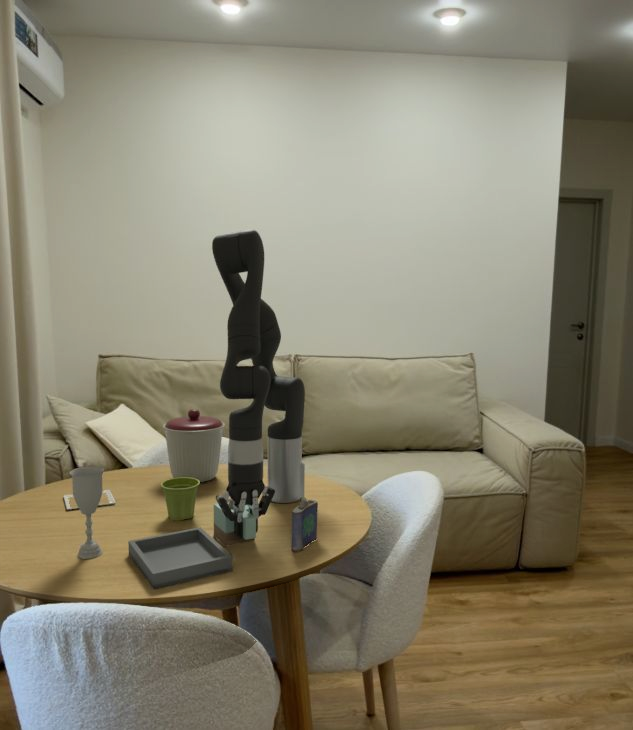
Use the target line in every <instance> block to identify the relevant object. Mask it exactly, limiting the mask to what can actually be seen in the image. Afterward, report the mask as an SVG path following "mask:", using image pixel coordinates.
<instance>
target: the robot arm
mask: <svg viewBox="0 0 633 730" xmlns="http://www.w3.org/2000/svg"><path fill="white" fill-rule="evenodd" d="M262 239H263V238H261V235H260V234H259V232H258V231H257V230H255V229H245V230H240V231H235V232H228V233H223V234H218V235H216V236H215V237H214V238H213V239H212V241H211V242H212V244H211V245H212V246H211V250H212V255H213V259H214V262H215V265H216V267H217V270H218V272H219V275H220V276H221V279H222V281H223V284H224V286H225V288H226V291H227V292H228V295H229V297H230V300H231V303H232V305H233V306H232V307H231V309H230V312H229V314H228V317H227V328H226V329H227V351H226V352H227V353H226V359H225V363H224V367H223V370H222V372H221V373H222V374H221V376H220V381H219V389H220V392H221V393H222V395H223V396H224V397H225V398H226V399H228V400H252V402H251V403H250V405H248V406H247V407H243V408H240V409H235V410H233V411H231V412H230V414H229V416H228V446H227V480H228V481H227V482H228V485H227V487H226V489H225V490H226V491H225V492H223V493H222V494H217V495H216V496H215V501H216V502H217V503H218V504H219V506H220V508H221V509H222V511H223V513H224V515H225V517H226V518H228V519H229V520H230V521H234V533H235V535H236V536H237V537H238V538H239V539H241V538H243V522H242V519H243V512H244V510H245V505H248V509H249V513H251V514H252V515H253V516H255V517H256V534H257V533H258V531H259V518H260V517H261V516H265V515H266V514H267V513H268V510H269V507H270V505H271V502H273V503H277V504H291V503H295V502H298V501H300V500H301V499H303V498H304V497H305V488H306V487H305V484H306V483H305V482H306V481H305V478H306V477H305V476H306V475H305V472H306V471H305V470H306V469H305V467H306V466H305V463H304V462H303V460H302V459H303V457H302V455H303V451H302V450H303V444H302V443H303V439H302V438H303V436H302V435H303V427H304V419H305V417H304V415H305V401H306V400H305V399H306V398H305V397H306V390H305V389H306V388H305V383H304V381H303V380H302V379H301V378H300V377H295V376H283V375H281V376H280V375H278V374H277V373H276V371H275V368H274V358H275V355H277V354H276V353H277V351H278V350H279V347H280V343H281V340H282V339H281V338H282V332H281V329H280V326H279V323H278V322H279V321H278V319H277V316H276V313H275V311H274V310H273V308H272V307H271V306H270V305H269V304H268V303H267V302H266V301H265V300H264V299H262V292H263V291H262V290H263V282H264V270H265V247H264V244H263V240H262ZM240 273H246V280H245V281H244V280H243V278H242V277H241V275H240ZM249 359H251V362H252V365H238V364H239V363H240V362H242V361H246V360H249ZM265 408H266V409H268V410H271V411H280V412H285V413H284V419H282V420H281V421H276V422H274V423H271V424H269V425H268V426H267V486H266V485H265V483H264V480H263V479H264V455H265V454H264V444H263V415H264V410H265ZM229 497H230V498H231V499H232V500H233V509H234V510H233V513H232V511H231V509H230V508H229V506H228V504H227V503H229V499H230V498H229ZM260 497H261V498H260ZM300 497H303V498H301V499H300ZM259 498H260V501H259ZM299 499H300V500H299Z"/></svg>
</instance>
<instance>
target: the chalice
mask: <svg viewBox="0 0 633 730" xmlns="http://www.w3.org/2000/svg"><path fill="white" fill-rule="evenodd" d="M104 472H105V468H104V467H101V466H96V465H95V466H93V465H92V466H91V465H89V466H88V465H87V466H82V467H77V468H74V469H72V470H70V471H69V475H71V480H72V494H73V499H74V501H75V503H76V506H77V507H79V509H78V510H79V511H80V513H81V514H83V515H85V517H86V519H85V523H84V525H85V526H86V530H85V531H84V533H85V534H86V537H87V538H86V540H85V541H84V542H82V543H81V545H80V547H79V550H78V552H77V554H78V555H76V557H77V558H79V559H82V560H83V559H84V560H86V559H88V560H89V559H95V558H97V557H99V556H102V554H103V550H102V549H101V547H100V544H99V542H97V541H95V540H94V539H93V538H92V536H93V532H94V529H92V528H93V527H92V525H93V523H94V522H93V521H92V515H93V514H94V513H96V512H97V509H98V507H99V506H98V505H99V504H100V501H101V498H102V495H103V494H102V492H103V474H104Z"/></svg>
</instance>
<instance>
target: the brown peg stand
mask: <svg viewBox="0 0 633 730" xmlns="http://www.w3.org/2000/svg"><path fill="white" fill-rule="evenodd" d="M228 499H229V508H230V509H231V510H232V509H233V500H232V499H231V497H230V498H228ZM213 537H215V539H217V540H218V541H219V542H220V543H221V544H223V545H224V546H225V547H229V546H233V545H238V544H244V543H248V542H252V541H255V540H256V538H252V539H247V540H245V539H244V538H241V539H239V538H238V537H237V536H236V535H235V533H234V532H229V533H225V532H224V531H223V530H221V529H220V528H219V527H218V526H217V525H216V524H214V523H213Z"/></svg>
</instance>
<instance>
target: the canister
mask: <svg viewBox="0 0 633 730" xmlns="http://www.w3.org/2000/svg"><path fill="white" fill-rule="evenodd" d="M225 425H226V424H225V422H223V421H222V420H220V419H219V418H216V417H215V416H214V417H213V416H206V415H201V413H200V410H199V409H197V408H192V409H189V410H188V412H187V416H179V417H175V418H172V419H169V420H168V421H167V422H166V423H164V424H162V430H163V429H164V431H165V442H166V447H167V454H168V455H167V456H168V463H169V469H170V473H171V476H172V477H173V478H179V477H189V478H195V479H198V480H199V481H200V482H201V483H205V481H206V482H209V481H211V480H213V479H214V478H215V477H216V475H218V470H219V465H220V459H221V447H222V441H223V440H222V439H223V429H224V427H226V426H225Z"/></svg>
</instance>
